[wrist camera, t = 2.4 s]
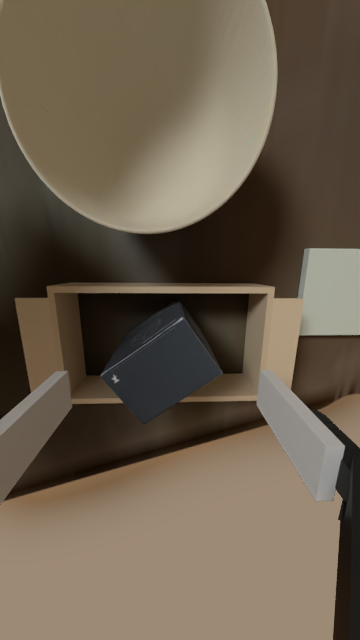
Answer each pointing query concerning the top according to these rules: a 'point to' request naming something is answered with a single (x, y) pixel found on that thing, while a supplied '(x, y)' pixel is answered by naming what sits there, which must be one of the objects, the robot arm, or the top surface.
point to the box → (160, 362)
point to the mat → (330, 292)
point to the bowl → (139, 103)
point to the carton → (63, 307)
